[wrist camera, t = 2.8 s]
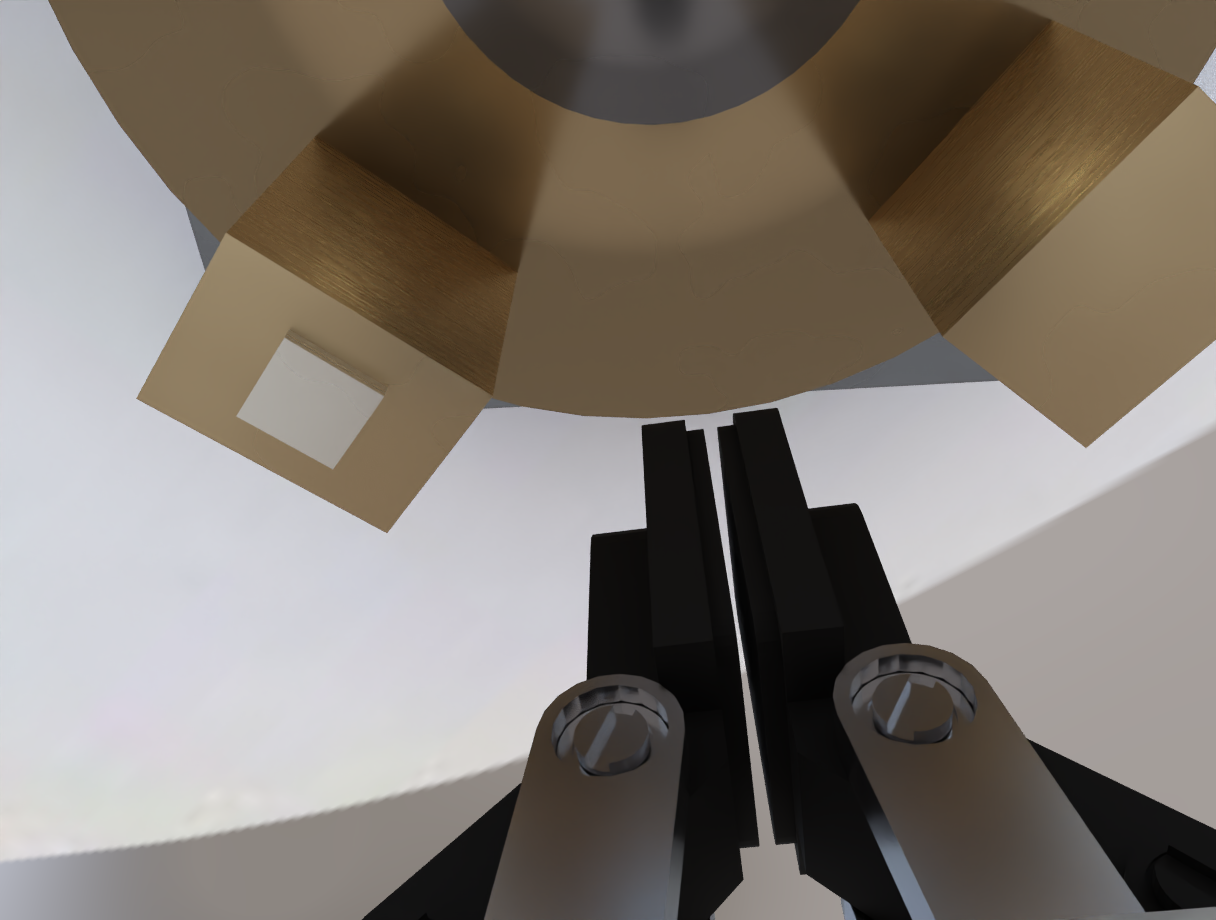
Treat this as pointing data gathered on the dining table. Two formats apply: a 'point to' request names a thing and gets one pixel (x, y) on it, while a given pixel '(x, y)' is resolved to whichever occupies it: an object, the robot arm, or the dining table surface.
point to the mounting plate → (911, 367)
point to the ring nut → (656, 208)
